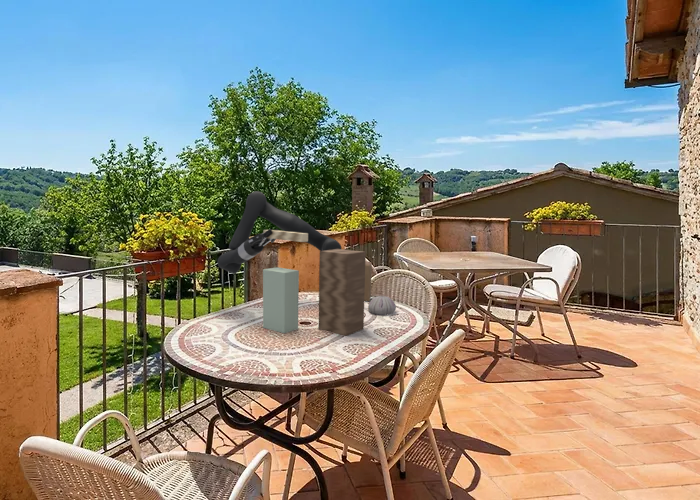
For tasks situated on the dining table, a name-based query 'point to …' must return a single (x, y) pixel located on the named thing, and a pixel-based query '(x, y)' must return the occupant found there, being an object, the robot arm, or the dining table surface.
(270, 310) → the sage pedestal
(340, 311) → the walnut pillar
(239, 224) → the robot arm
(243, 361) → the dining table surface
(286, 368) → the dining table surface
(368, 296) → the wooden block
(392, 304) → the sea urchin shell
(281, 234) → the oak rod
